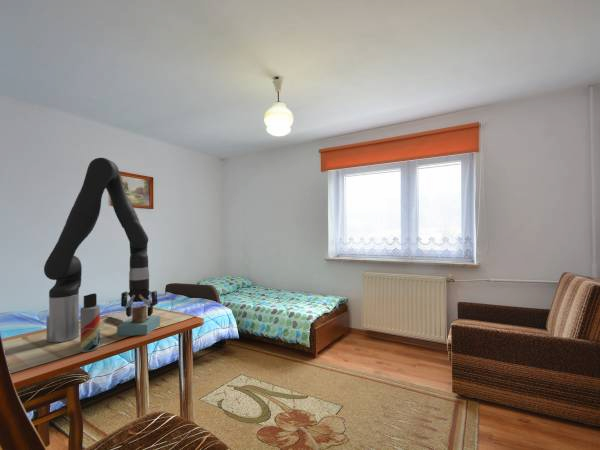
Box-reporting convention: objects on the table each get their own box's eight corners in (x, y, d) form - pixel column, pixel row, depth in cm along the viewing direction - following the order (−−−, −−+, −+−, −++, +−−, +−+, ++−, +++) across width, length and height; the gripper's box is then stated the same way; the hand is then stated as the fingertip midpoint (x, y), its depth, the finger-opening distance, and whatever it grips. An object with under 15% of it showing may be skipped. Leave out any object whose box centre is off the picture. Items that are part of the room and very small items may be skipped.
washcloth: (129, 314, 150) (129, 308, 150) (149, 319, 140) (148, 312, 141) (104, 320, 140) (104, 314, 140) (123, 326, 130) (123, 319, 130)
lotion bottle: (89, 352, 101) (89, 295, 101) (76, 351, 102) (76, 295, 102) (103, 346, 107) (103, 292, 107) (91, 345, 108) (90, 291, 108)
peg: (132, 331, 122) (132, 308, 122) (137, 328, 126) (137, 305, 126) (142, 331, 122) (141, 307, 122) (146, 328, 126) (146, 305, 126)
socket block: (117, 335, 117) (117, 325, 117) (132, 325, 129) (132, 317, 129) (147, 334, 118) (147, 324, 118) (160, 324, 130) (160, 316, 130)
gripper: (117, 280, 120) (117, 319, 120) (152, 279, 121) (152, 318, 120) (127, 277, 127) (127, 313, 127) (159, 276, 128) (160, 312, 128)
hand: (139, 315), depth 124 cm, fingers open, 8 cm apart
